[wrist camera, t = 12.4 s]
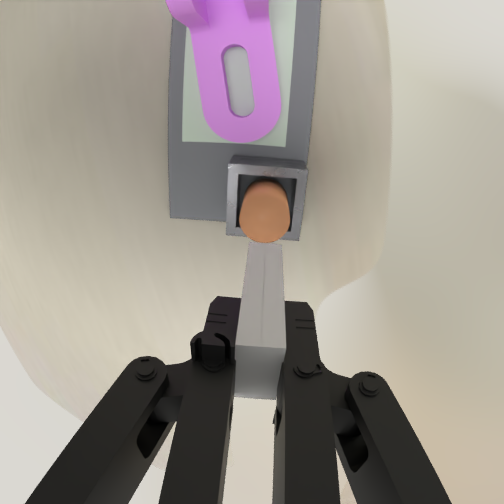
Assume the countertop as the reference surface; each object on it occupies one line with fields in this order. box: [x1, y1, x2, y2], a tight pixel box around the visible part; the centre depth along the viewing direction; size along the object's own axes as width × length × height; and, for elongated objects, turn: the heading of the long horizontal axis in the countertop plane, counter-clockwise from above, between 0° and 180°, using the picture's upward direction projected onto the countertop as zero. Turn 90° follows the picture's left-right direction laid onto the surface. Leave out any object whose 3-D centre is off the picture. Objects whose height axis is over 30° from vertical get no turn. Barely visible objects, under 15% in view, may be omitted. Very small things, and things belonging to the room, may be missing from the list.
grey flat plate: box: [168, 0, 321, 222], centre depth 22 cm, size 21×11×1 cm, turn 177°
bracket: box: [166, 0, 281, 143], centre depth 17 cm, size 13×6×7 cm, turn 8°
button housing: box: [226, 155, 308, 241], centre depth 24 cm, size 6×6×3 cm
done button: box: [239, 178, 290, 243], centre depth 22 cm, size 3×3×4 cm
